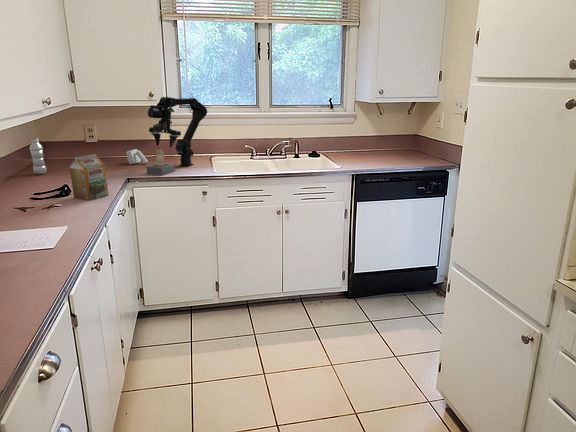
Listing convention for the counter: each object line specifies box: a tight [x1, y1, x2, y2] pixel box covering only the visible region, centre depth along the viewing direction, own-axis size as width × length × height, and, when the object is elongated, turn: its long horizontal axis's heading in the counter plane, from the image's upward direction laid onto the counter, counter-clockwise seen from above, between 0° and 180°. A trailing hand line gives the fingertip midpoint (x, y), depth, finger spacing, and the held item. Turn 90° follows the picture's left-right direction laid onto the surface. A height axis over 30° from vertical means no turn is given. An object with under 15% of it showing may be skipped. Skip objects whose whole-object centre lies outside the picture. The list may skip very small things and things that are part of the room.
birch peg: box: [154, 149, 165, 167], centre depth 255 cm, size 4×4×12 cm
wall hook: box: [125, 148, 149, 165], centre depth 280 cm, size 8×10×10 cm
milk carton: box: [69, 153, 109, 202], centre depth 204 cm, size 11×11×19 cm
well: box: [146, 163, 176, 176], centre depth 256 cm, size 11×11×4 cm
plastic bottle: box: [29, 137, 48, 175], centre depth 249 cm, size 6×7×20 cm
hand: (164, 146), depth 262 cm, fingers open, 9 cm apart
